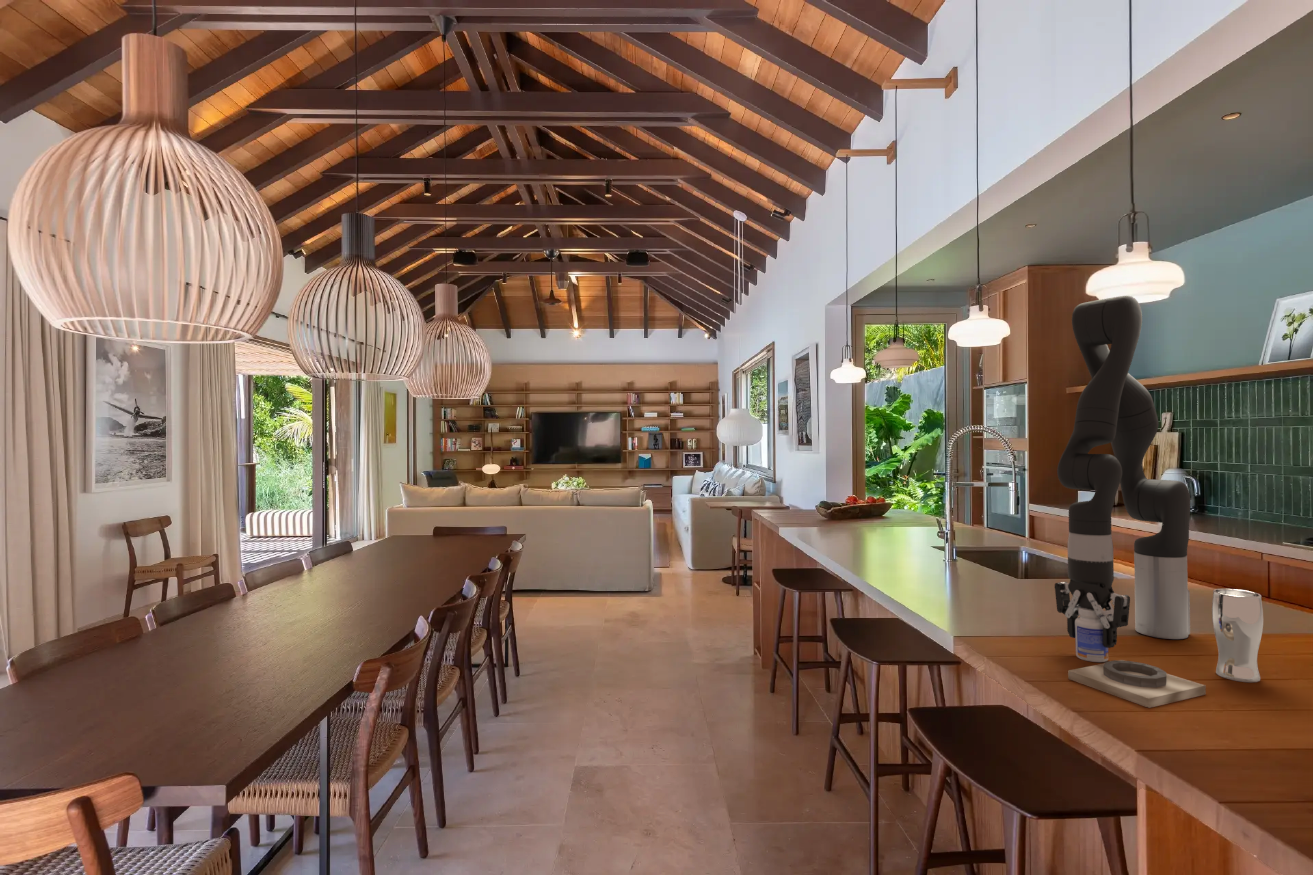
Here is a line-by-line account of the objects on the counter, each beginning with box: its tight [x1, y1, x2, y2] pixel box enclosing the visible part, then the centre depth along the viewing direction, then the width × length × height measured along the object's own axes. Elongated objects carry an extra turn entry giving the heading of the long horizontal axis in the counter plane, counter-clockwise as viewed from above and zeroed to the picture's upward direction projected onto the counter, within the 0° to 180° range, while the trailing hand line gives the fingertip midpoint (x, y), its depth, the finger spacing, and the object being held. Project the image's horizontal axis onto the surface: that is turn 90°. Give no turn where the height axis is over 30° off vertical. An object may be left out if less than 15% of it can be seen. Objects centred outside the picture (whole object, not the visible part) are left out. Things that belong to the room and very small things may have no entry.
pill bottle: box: [1074, 607, 1109, 663], centre depth 132 cm, size 5×5×10 cm
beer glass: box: [1211, 588, 1264, 683], centre depth 122 cm, size 7×7×15 cm
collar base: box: [1067, 659, 1207, 709], centre depth 118 cm, size 14×14×3 cm
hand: (1091, 641), depth 132 cm, fingers open, 6 cm apart
